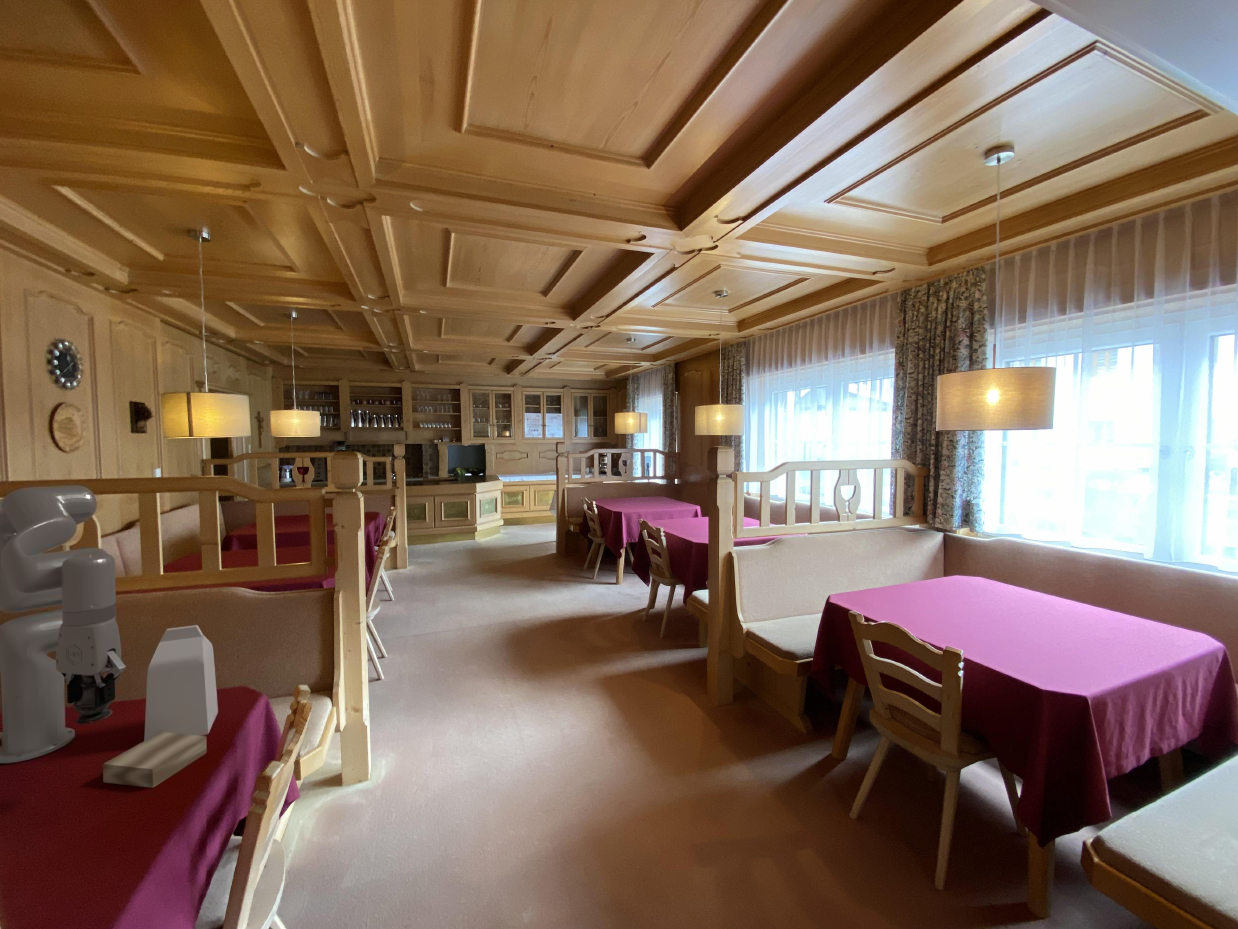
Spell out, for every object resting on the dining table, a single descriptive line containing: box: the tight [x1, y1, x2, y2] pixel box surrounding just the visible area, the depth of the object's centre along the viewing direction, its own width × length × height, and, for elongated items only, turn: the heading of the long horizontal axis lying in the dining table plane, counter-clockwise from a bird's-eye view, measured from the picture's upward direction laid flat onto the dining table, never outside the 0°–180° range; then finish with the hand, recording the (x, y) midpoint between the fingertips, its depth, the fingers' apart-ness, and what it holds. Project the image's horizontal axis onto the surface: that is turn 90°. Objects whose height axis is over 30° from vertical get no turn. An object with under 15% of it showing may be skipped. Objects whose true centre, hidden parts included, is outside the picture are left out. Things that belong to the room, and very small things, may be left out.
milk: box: [143, 624, 219, 742], centre depth 126 cm, size 12×12×26 cm
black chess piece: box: [72, 673, 113, 725], centre depth 103 cm, size 6×6×12 cm
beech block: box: [102, 732, 208, 789], centre depth 111 cm, size 12×12×4 cm
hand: (91, 700), depth 102 cm, fingers closed on black chess piece, 5 cm apart
